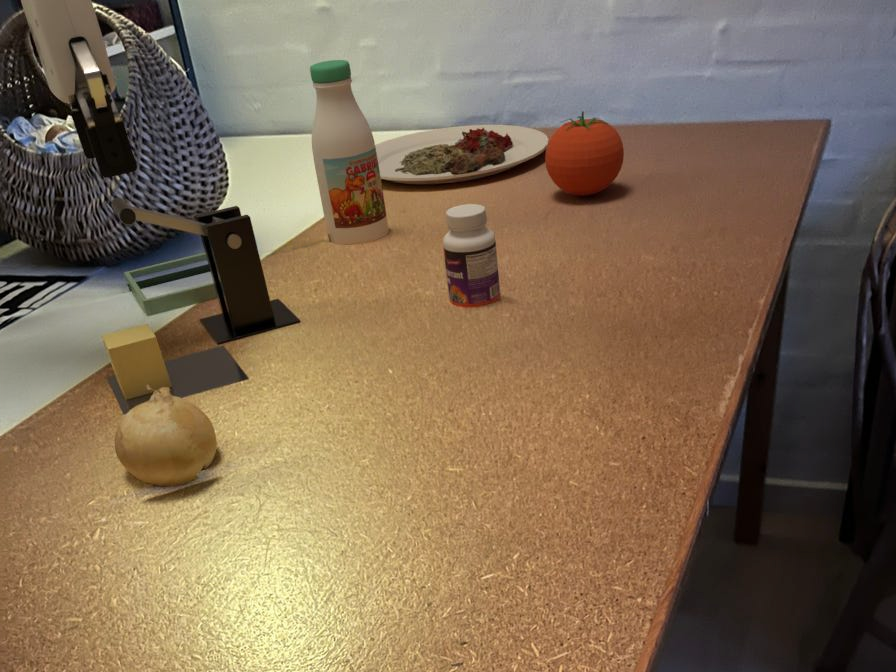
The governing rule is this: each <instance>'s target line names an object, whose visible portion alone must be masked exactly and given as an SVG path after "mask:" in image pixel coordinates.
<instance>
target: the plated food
mask: <svg viewBox="0 0 896 672" xmlns="http://www.w3.org/2000/svg"><path fill="white" fill-rule="evenodd" d="M548 142H549V138H548V136H547V134H545V133H544V132H543V131H540V130H538V129H534V128H531V127H526V126H521V125H509V124H475V125H460V126H452V127H450V126H449V127H443V128H435V129H429V130H424V131H419V132H418V131H417V132H414V133H409V134H406V135H401V136H397V137H394V138H391V139H387V140H385V141H382V142H379V143H377V144H376V143H375V148H376V153H377V158H378V165H379V171H380V177H381V180H385V181H387V182H392V183H398V184H406V185H438V184H451V183H457V182H466V181H470V180H471V181H473V180H476V179H477V180H478V179H480V178H481V179H482V178H485V177H489V176H493V175H497V174H499V173H502V172H506V171H509V170H510V169H512V168H515V167H517V166H518V165H520V164H522V163H525V162H527V161H530V160H531V159H534V158H536V157H537V156H539V155H540V154H542V153H544V151H546V149H547V145H548Z"/></svg>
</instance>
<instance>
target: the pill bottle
mask: <svg viewBox="0 0 896 672" xmlns="http://www.w3.org/2000/svg"><path fill="white" fill-rule="evenodd" d="M445 217H446V218H445V219H446V226H447V228H448V229H449V231H448V232H447V233H446V234H445V235H444V236H443V239H442V249H443V257H444V258H443V259H444V266H445V273H446V274H445V275H446V281H447V289H448V291H447V292H448V299H449V303H451V305H453V306H456V307H461V308H476V307H482V306H483V307H484V306H487V305H490V304H492V303H495V302H496V301H498V300H499V299H501V286H500V275H499V265H498V252H497V242H496V235H495V233H494V231H493V230H492V229H491V228H489V227H487V226H486V225H487V223H488V222H487V220H488V218H487V212H486V207H485V206H484V205H483V204H479V203H478V204H477V203H466V204H459V205H456V206H452V207H451V208H449V209H447V210H446V212H445Z"/></svg>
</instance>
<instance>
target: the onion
mask: <svg viewBox="0 0 896 672" xmlns="http://www.w3.org/2000/svg"><path fill="white" fill-rule="evenodd" d="M146 386H147V387H146V388H147V389H148V390H149V392H151V391H153V395H152V396H151V398H150V400H149V401H147V402H145V403H142V404H140V405H138V406H136V407H134V408H133V409H131V410H130V411H129V412H128V413H127V414H125V415H123V417H121V419H120V421H119V422H118V425H117V428H116V430H115V434H114V451H115V454H116V457H117V459H118V460H119V463H120V464H122V466H123V467H124V468H125V470H126V471H128V473H130V475H132V476H133V477H134V478H136V479H137V480H139V481H140V482H144V483H145V484H150V485H152V486H153V487H157V488H168V487H170V488H171V487H173V486H174V487H175V486H180V485H181V486H182V485H183V484H189V483H191V482H194V481H195V480H197V479H199V476H197V475H198V474H200V473H201V471H202V470H207V468H208V467H210V465H212V464H213V460H214V458H215V456H216V452H217V448H218V447H217V445H218V441H217V436H216V431H215V428H214V424H213V423H212V421H211V420H210V417H208V415H207V414H206V413H205V412H204V411H203V410H202V409H201V408H200V407H198V406H197V405H196V404H194V402H193V403H192V402H191V401H189V400H187V399H185V398H180V397H176V396H171V393H170V388H165V387H162V388H160V389H159V390H154V389H152V388H151V387H149V385H146Z"/></svg>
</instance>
